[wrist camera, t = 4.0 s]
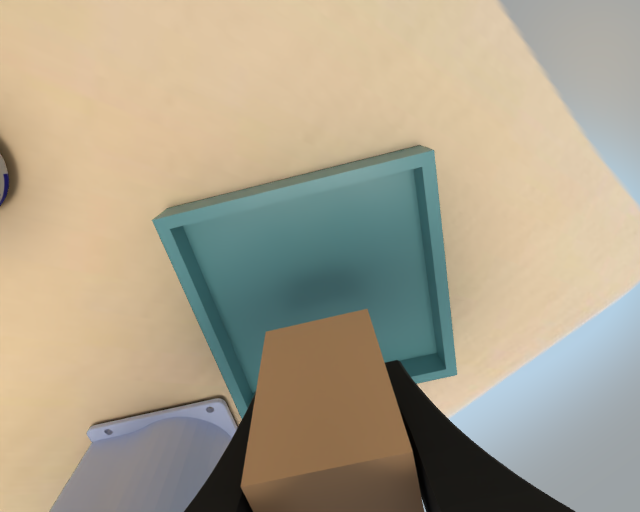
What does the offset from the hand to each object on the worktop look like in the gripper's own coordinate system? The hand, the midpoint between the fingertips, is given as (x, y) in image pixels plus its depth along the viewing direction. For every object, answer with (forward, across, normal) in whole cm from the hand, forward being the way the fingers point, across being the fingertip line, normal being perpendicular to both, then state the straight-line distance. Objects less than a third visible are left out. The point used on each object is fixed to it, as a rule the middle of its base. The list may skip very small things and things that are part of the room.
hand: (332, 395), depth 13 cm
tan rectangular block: (+2, 0, 0) cm, 2 cm away
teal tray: (+8, 0, 0) cm, 8 cm away
